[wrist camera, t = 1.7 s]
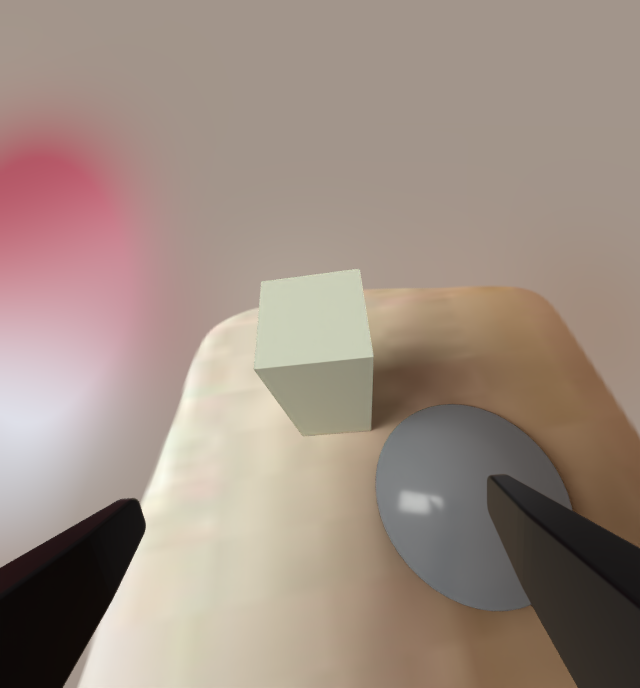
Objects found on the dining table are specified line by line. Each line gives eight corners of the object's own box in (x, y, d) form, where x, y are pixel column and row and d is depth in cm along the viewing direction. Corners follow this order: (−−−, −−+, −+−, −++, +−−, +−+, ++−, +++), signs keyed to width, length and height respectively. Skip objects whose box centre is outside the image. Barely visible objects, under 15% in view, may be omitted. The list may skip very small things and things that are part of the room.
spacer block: (371, 430, 21) (373, 356, 12) (302, 436, 22) (253, 369, 12) (362, 368, 24) (359, 268, 15) (301, 374, 24) (261, 281, 15)
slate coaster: (593, 633, 15) (601, 637, 14) (368, 581, 17) (369, 583, 16) (545, 416, 20) (550, 414, 20) (380, 399, 22) (381, 396, 22)
